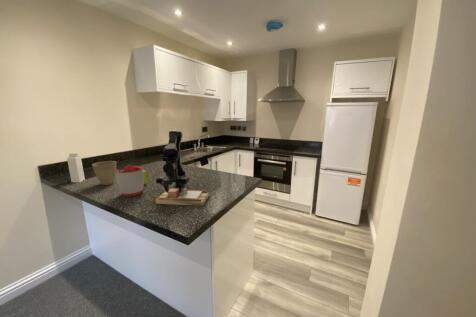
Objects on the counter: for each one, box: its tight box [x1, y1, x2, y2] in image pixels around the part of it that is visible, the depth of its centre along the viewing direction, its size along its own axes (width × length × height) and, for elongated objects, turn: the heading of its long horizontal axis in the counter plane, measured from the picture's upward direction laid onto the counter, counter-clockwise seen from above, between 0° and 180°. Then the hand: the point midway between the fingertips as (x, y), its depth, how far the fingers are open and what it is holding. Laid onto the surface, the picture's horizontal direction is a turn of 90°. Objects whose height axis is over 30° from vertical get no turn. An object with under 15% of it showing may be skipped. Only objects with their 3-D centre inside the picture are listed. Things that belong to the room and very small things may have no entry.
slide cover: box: [179, 187, 202, 199], centre depth 117 cm, size 11×11×4 cm
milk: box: [66, 153, 85, 183], centre depth 150 cm, size 6×6×22 cm
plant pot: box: [91, 160, 117, 186], centre depth 145 cm, size 15×15×16 cm
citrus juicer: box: [115, 164, 145, 198], centre depth 126 cm, size 16×17×20 cm
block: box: [168, 188, 180, 198], centre depth 119 cm, size 5×5×6 cm
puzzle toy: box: [143, 169, 148, 185], centre depth 145 cm, size 10×10×10 cm
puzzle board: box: [155, 188, 210, 207], centre depth 118 cm, size 14×28×4 cm, turn 84°
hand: (173, 193), depth 119 cm, fingers open, 7 cm apart
